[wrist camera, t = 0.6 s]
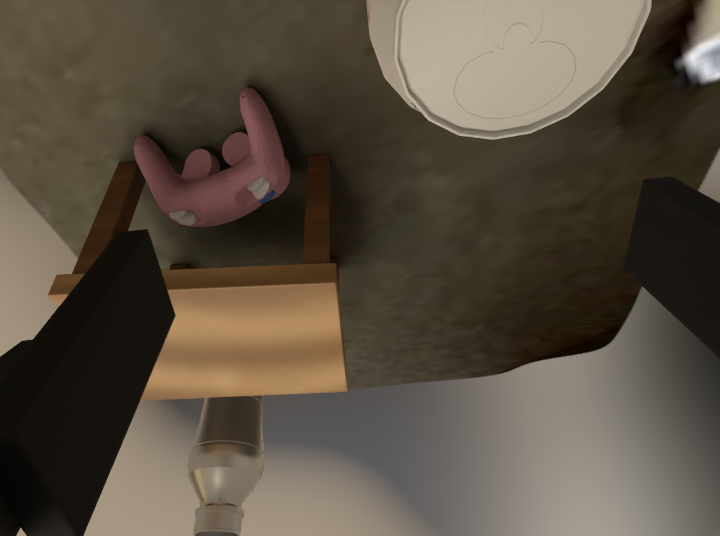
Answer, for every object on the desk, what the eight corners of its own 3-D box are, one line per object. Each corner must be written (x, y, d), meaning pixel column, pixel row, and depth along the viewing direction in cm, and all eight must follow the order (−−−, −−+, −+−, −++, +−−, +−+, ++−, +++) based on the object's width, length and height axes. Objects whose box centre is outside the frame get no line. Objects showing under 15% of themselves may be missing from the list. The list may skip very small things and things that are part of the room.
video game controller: (172, 159, 37) (185, 246, 35) (124, 134, 33) (136, 233, 31) (287, 109, 34) (306, 203, 32) (251, 75, 30) (271, 180, 28)
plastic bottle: (238, 296, 48) (205, 521, 36) (288, 323, 52) (275, 534, 40) (198, 321, 51) (155, 536, 39) (249, 345, 56) (225, 546, 43)
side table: (108, 157, 35) (46, 295, 27) (335, 147, 35) (336, 282, 27) (172, 278, 46) (140, 401, 38) (344, 270, 46) (347, 392, 38)
